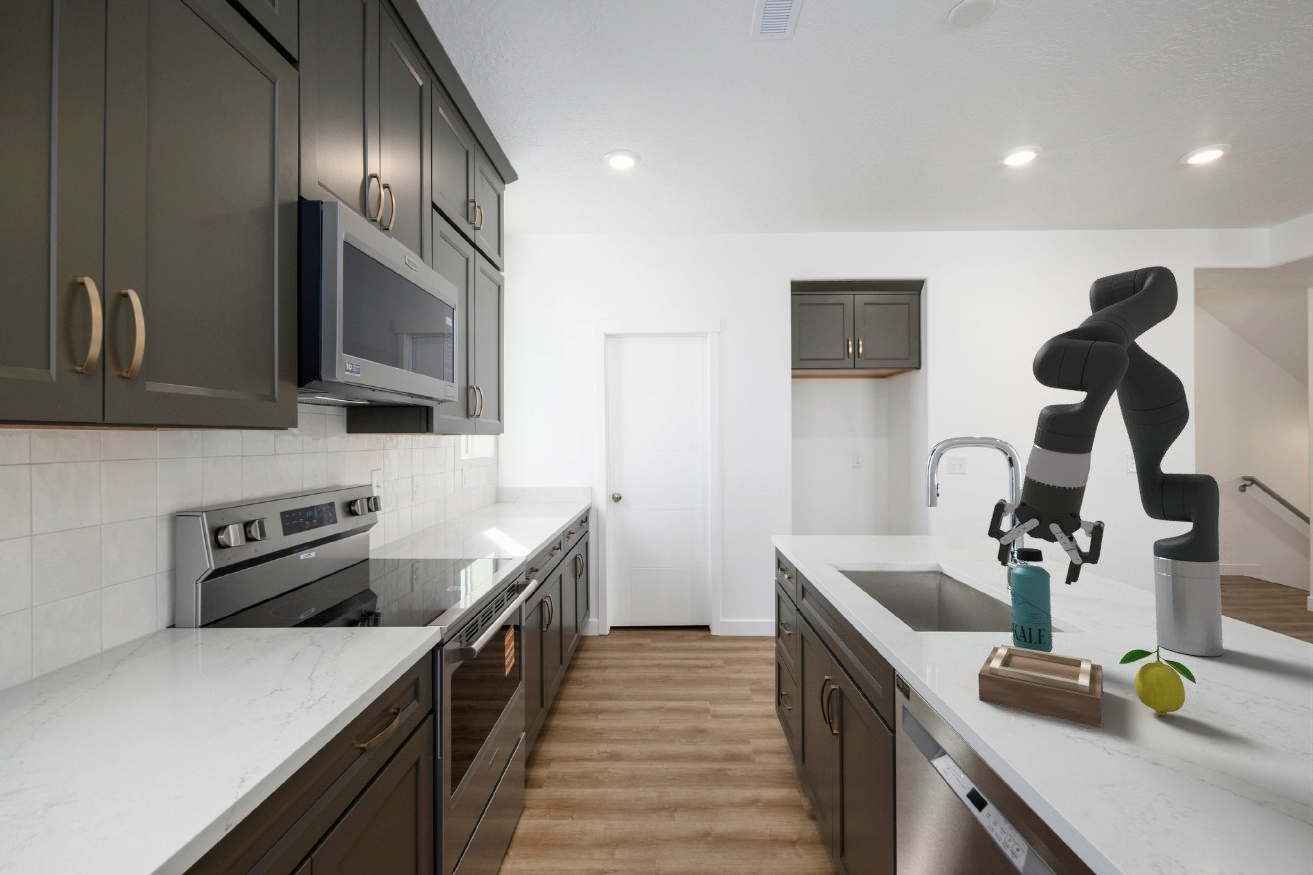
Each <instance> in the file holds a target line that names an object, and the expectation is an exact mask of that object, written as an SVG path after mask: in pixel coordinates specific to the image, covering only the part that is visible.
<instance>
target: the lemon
mask: <svg viewBox="0 0 1313 875" xmlns="http://www.w3.org/2000/svg"><path fill="white" fill-rule="evenodd" d="M1155 653H1156V660H1155V661H1153V662H1147V663H1145V664H1143V665H1141V666H1140V668H1139V669H1138V670H1137V672H1136V675H1135V678H1134V689H1135V693H1136V696H1137V698H1138V700H1139V701H1140V702H1141V703H1142V704H1143V705H1144V706H1146V707H1148V708H1150V709H1152V710H1154V711H1155V713H1157V715H1159V716H1165V715H1166V714H1167V713H1174V712H1176V711H1178V710H1180V709H1181V708H1183V706H1184V704H1185V702H1186V701H1185V700H1186V691H1185V686H1184V683H1183V681H1182V678H1181V677H1180V675H1181V676H1183V677H1184V678H1185V679H1187V680H1188V681H1190V682H1192V683H1193V684H1194V685H1196V684H1197V681H1196V678H1195V676H1194V674H1193V673H1192V671H1191V670H1190V669H1189V668H1188V667H1187V666H1185V665H1184V664H1182V663H1181V662H1178V661H1175V660H1170V659H1164V658H1163V657H1161V655H1160V645H1158V644H1157V645H1156V650H1155V651H1149V650H1145V649H1133V650H1129V651H1128V652H1127V653H1125V654H1124V655H1123V656H1122V658H1121V659H1120V661H1119V664H1120V665H1126V664H1131V663H1134V662H1137V661H1140V660H1142V659H1145V658H1147V657H1150V656H1151V655H1152V654H1155ZM1160 658H1161V659H1162V661H1161V660H1160ZM1163 661H1164V662H1165V663H1166V664H1165V663H1163ZM1178 673H1179V674H1180V675H1179V674H1178Z"/></svg>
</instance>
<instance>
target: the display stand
mask: <svg viewBox="0 0 1313 875" xmlns="http://www.w3.org/2000/svg"><path fill="white" fill-rule="evenodd" d="M977 675H978V677H977V678H978V700H980V701H983V702H986V703H987V702H988V703H992V704H996V705H1001V706H1005V707H1010V708H1013V709H1017V710H1018V709H1019V710H1023V711H1028V712H1032V713H1035V714H1036V713H1037V714H1040V715H1044V716H1049V717H1054V718H1058V719H1062V720H1067V721H1070V722H1071V721H1072V722H1075V723H1081V724H1085V725H1088V726H1092V727H1098V728H1102V720H1103V719H1102V718H1103V717H1102V716H1103V715H1102V714H1103V698H1104V695H1103V694H1104V684H1103V682H1104V681H1103V665H1102V664H1096V663H1092V659H1088V658H1082V657H1077V656H1071V655H1065V654H1059V653H1053V652H1049V653H1048V652H1043V651H1037V650H1031V649H1025V648H1019V647H1015V646H1014V645H1013V646H1012V645H1007V644H1001V645H1000V646H998V647H997V646H993V647H992V649H991V651H990V654H988V657H987V658H986V660H985V662H984V663H983V665H982V666H981V669H980V670H979V672H978V673H977Z"/></svg>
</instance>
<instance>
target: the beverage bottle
mask: <svg viewBox="0 0 1313 875" xmlns="http://www.w3.org/2000/svg"><path fill="white" fill-rule="evenodd" d="M1016 560H1018V561H1021V562H1029V563H1030V562H1031V563H1040V562H1041V563H1042V562H1044V557H1043V551H1042V549H1040V548H1039V549H1038V548H1033V547H1020V548H1017V550H1016ZM1010 575H1011V577H1010V578H1011V579H1010V580H1011V581H1010V587H1011V588H1010V595H1011V596H1010V601H1011V612H1010V614H1011V631H1012V636H1011V639H1012V640H1011V641H1012V643H1013V647H1019V648H1025V649H1031V650H1037V651H1043V652H1048V653H1052V651H1053V648H1054V646H1053V645H1054V643H1053V642H1054V641H1053V637H1054V636H1053V625H1052V624H1053V623H1052V618H1053V617H1052V611H1051V610H1052V609H1051V606H1052V605H1051V578H1050V577H1051V574H1050V573H1049V571H1048V570H1046V569H1045V568H1044V567H1042V566H1040V565H1039V566H1038V565H1035V564H1034V565H1031V564H1018V565H1016V566H1015V567H1013V568H1012V569H1011V570H1010Z"/></svg>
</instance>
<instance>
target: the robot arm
mask: <svg viewBox="0 0 1313 875" xmlns="http://www.w3.org/2000/svg"><path fill="white" fill-rule="evenodd" d="M1178 290H1179V289H1178V284H1177V279H1176V276H1175V275H1174V273H1173V272H1172V270H1171V269H1169V268H1168V267H1166V266H1163V265H1162V266H1160V265H1159V266H1156V265H1155V266H1146V267H1142V268H1138V269H1133V270H1129V271H1124V272H1120V273H1114V274H1111V275H1107V276H1101V277H1099V278H1097V279H1096V280H1094V281H1093V283H1092V284H1091V286H1090V288H1089V294H1088V296H1089V298H1088V299H1089V306H1090V310H1091V315H1090V316H1088V317H1086V318H1085V319H1084V321H1082V323H1081V324H1080V325H1079V326H1078V327H1076V328H1073V329H1070V330H1067V331H1064V332H1062V333H1059V334H1056V335H1055V336H1052V337H1051V338H1050V339H1048V340H1047V341H1045V342H1044V343H1043V344H1042V345H1041V347H1039V349H1038V350H1037V352H1036V354H1035V357H1034V359H1033V362H1032V372H1033V376H1034V378H1035V379H1036V380H1037V382H1038V383H1039V384H1041V385H1042V386H1044V387H1047V388H1050V389H1060V390H1067V391H1074V392H1082V393H1086V396H1085V397H1084V399H1083V400H1082V401H1079V402H1077V403H1076V402H1075V403H1060V404H1059V403H1058V404H1050V405H1046V406H1044V407H1043V408H1041V410H1040V412H1039V415H1038V418H1037V419H1038V420H1037V424H1036V428H1035V434H1034V439H1033V443H1032V447H1031V450H1030V453H1029V456H1028V459H1027V464H1025V465H1026V466H1025V475H1024V480H1023V485H1022V492H1021V496H1020V501H1019V503H1018V504H1013V503H1009V502H1007V501H1006V499H1003V498H1000V499H999V500H997V502H996V503H995V504H994V508H993V511H992V515H991V519H990V523H989V527H988V532H987V535H988V537H989V538H993V539H995V540H997V541H998V542H999V548H998V552H997V557H996V558H997V561H998V562H1000V566H1002V567H1007V566H1008V564H1009V561H1010V556H1011V551H1012V545H1013V541H1014V540H1016V539H1019V538H1020V537H1021V536H1023V535H1025V534H1027V535H1028V536H1029V538H1031V539H1042V540H1044V541H1046V542H1048V543H1053V544H1055V543H1059V544H1060V546H1061V548H1062V549H1063V551H1064V552H1066V554H1067V555H1068V557H1069V558H1070V561H1069V565H1068V569H1067V572H1066V576H1065V581H1064V582H1065V583H1064V584H1065V585H1067V586H1068V585H1069V586H1071V585H1072V583H1075V584H1076V583H1077V582H1078V580H1079V578H1080V573H1081V570H1082V565H1084V564H1091V565H1097V564H1098V563H1099V559H1100V555H1101V549H1102V545H1103V537H1104V531H1105V526H1106V525H1105V523H1104V521H1102V520H1095V522H1094V521H1093V522H1092V521H1087V520H1083V519H1082V518H1081V510H1082V505H1083V501H1084V496H1085V491H1086V487H1087V483H1088V479H1089V473H1090V470H1091V463H1092V462H1091V460H1092V451H1093V446H1094V443H1095V438H1096V434H1097V433H1096V432H1097V429H1098V426H1099V422H1100V420H1101V417H1102V415H1103V413H1104V411H1105V409H1106V406H1107V405H1108V403H1109V401H1110V400H1111V399H1112V396H1113V395H1114V393H1115V391H1116V396H1117V400H1118V404H1119V408H1120V411H1121V415H1122V419H1123V422H1124V426H1125V428H1126V432H1127V436H1128V439H1129V443H1130V446H1131V449H1132V455H1133V459H1134V460H1133V461H1134V465H1135V470H1136V476H1137V483H1138V490H1139V495H1140V502H1141V505H1142V508H1143V511H1144V513H1145V514H1146V515H1147V517H1149V518H1151V519H1153V520H1158V521H1166V522H1177V523H1178V522H1180V523H1183V522H1184V523H1191V524H1192V527H1191V530H1189V531H1188V532H1185V533H1183V534H1180V535H1177V536H1171V537H1165V538H1160V539H1158V540H1155V541H1154V542H1153V547H1152V548H1153V552H1152V553H1153V570H1154V571H1153V572H1154V592H1155V593H1154V596H1155V599H1154V600H1155V621H1156V622H1155V625H1156V627H1155V628H1156V643H1157V645H1159V647H1162V648H1163V649H1166V650H1170V651H1174V652H1175V653H1176V652H1177V653H1180V654H1187V655H1192V656H1193V655H1194V656H1201V657H1220V656H1222V655H1223V654H1224V646H1223V642H1224V641H1223V620H1222V619H1223V618H1222V615H1223V614H1222V613H1223V612H1222V595H1221V594H1222V593H1221V591H1222V590H1221V575H1220V551H1219V550H1220V545H1219V544H1220V542H1219V541H1220V540H1219V539H1220V537H1219V536H1220V535H1219V522H1220V521H1219V520H1220V519H1219V518H1220V489H1219V485H1218V482H1217V481H1216V478H1214V477H1213V476H1212V475H1209V474H1205V473H1204V474H1203V473H1172V472H1171V473H1169V472H1168V473H1165V472H1163V470H1162V467H1161V465H1162V463H1161V462H1162V461H1163V459H1164V457H1165V456H1166V455H1167V452H1168V450H1169V449H1170V448H1171V446H1172V445H1173V444H1174V443H1175V442H1176V440H1177V439H1178V438H1179V436H1180V435H1181V434H1182V433H1183V431H1184V429H1185V428H1186V426H1187V424H1188V422H1189V418H1190V408H1189V404H1188V399H1187V394H1186V392H1185V386H1184V384H1183V382H1182V380H1181V379H1180V377H1179V376H1178V375H1177V374H1176V373H1174V372H1173V371H1172V370H1171V369H1169V368H1168V367H1167V366H1166V365H1165V364H1163V363H1162V362H1160V361H1159V360H1157V359H1156V358H1155V357H1154V356H1152V355H1151V354H1149V353H1148V352H1147V351H1145V350H1144V349H1143V348H1142V347H1141V346H1140V345H1139V344H1138V343H1137V342H1136V341H1135V340H1136V339H1138V338H1139V337H1140V336H1142V335H1143V334H1145V333H1146V332H1148V331H1149V330H1150V329H1152V328H1154V327H1155V326H1156V325H1158V324H1159V323H1161V322H1163V321H1165V320H1167V319H1168V318H1169V317H1171V315H1172V314H1173V313H1174V311H1175V310H1176V307H1177V306H1178V301H1179V292H1178ZM1011 513H1014V516H1015V517H1016V519H1017V521H1018V523H1016V524H1015V525H1014V526H1012V527H1011V528H1010V529H1008V530H1007V531H1004V530H1003V529H1001V527H1002V524H1003V523H1002V522H1003V520H1004V517H1005V518H1006V517H1008V516H1009V515H1010V514H1011ZM1080 529H1082V530H1084V534H1085V536H1086V537H1088V538H1090V543H1089V549H1088V551H1082V548H1081V547H1080V545H1079V544H1078V542H1077V539H1076V537H1075V535H1074V533H1076V532H1077V531H1078V530H1080Z"/></svg>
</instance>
